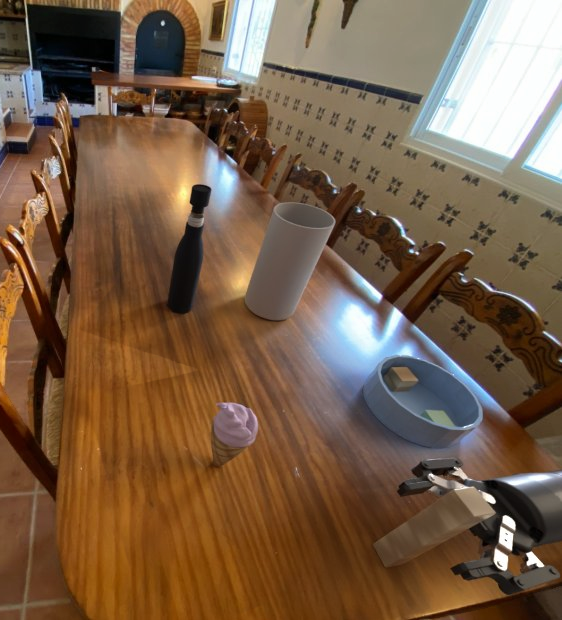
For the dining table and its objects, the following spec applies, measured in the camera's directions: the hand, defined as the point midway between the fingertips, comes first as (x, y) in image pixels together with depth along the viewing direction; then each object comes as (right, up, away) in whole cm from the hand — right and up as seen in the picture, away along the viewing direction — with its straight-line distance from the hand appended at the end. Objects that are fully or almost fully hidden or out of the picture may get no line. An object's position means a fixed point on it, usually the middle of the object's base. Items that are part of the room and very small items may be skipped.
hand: (427, 527), depth 43 cm
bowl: (+18, +7, +27) cm, 33 cm away
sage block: (+19, +4, +23) cm, 30 cm away
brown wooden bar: (0, -8, +7) cm, 11 cm away
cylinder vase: (-1, +27, +49) cm, 56 cm away
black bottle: (-24, +27, +47) cm, 59 cm away
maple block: (+18, +11, +31) cm, 37 cm away
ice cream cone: (-22, +1, +16) cm, 27 cm away
